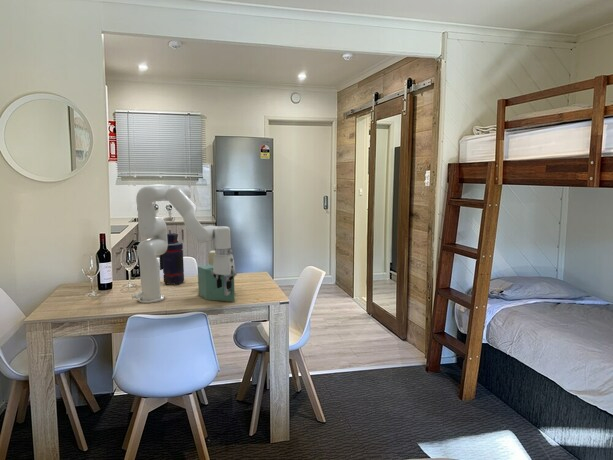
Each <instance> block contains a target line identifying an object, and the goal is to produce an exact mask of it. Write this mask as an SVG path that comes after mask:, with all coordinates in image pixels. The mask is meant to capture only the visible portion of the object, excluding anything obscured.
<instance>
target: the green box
mask: <svg viewBox="0 0 613 460" xmlns="http://www.w3.org/2000/svg"><path fill="white" fill-rule="evenodd" d="M205 271H206V297H207V299H206V300H207V301H220V302H231V303H235V302H236V296H235V294H236V293H235V291H236V290H235V277H234V278H233V280H231V281H232V287H231V288H230V289H227V281H228V280H227V277H226V275H221V280H222V287H221V288H217V280H216V278H215V277H214V276H213V275H212V274H211V271H212V270H205ZM231 275H233V274H231Z"/></svg>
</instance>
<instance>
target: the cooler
mask: <svg viewBox="0 0 613 460" xmlns="http://www.w3.org/2000/svg"><path fill="white" fill-rule="evenodd" d="M205 270H213V264H210V265H209V264H203V265H197V284H198V285H197V286H198V296H199V297H201V298H203V299H205V300H207V297H206V271H205Z"/></svg>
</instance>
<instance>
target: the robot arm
mask: <svg viewBox="0 0 613 460" xmlns="http://www.w3.org/2000/svg"><path fill="white" fill-rule="evenodd" d="M135 197H136V198H135V200H136V207H137V208H136V209H137V220H138V221H137V225H138V233H139V235H140V236H141V237H144V238H148V239H145V240H142V241H140V242H139V243H138V244H137V247H136V255H137V258H138V261H139V272H140V273H139V277H140V291H139V293H137V294H131V300H133V299H136V300H138V302H139V303H142V304H150V303H151V304H152V303H157V302H161V301H163V300H165V296H164V295H163V294H162V288H161V272H160V271H161V270H160V261H159V260H158V258H157V257H158V256H159V255H162V254H164V253H165V252H166V251H167V247H168V240H167V234H168V226H167V224H166V221H165V219H163V218H162V217H158V216H157V215H156V208H155V205H154V203H155V202H169V203H170V204H171V205H172V207H173V208H174V209H175V210H176V211H177V212H178V214H179V215H180V216H181V217H182V219H183V224H184V226H185V229H186V230H187V233H189V235H190V236H191V237H192V238H193V239H194V240H195V241H197V242H198V243H201V244H204V243H208V242H211V241H214V251H215V255H214V261H213V270H212V271H211V274H212V275H213V276H214V277H215V278H216V280H217V288H221V287H222V280H221V275H226V277H227V280H228V281H227V289H230V288H231V287H232V281H231V280H233V278H234V279H235V278H236V277H237V276H238V273H237V271H236V266H235V260H234V259H235V258H234V255H233V254H232V253H233V252H234V249H232V245H231V244H232V242H231V241H232V240H231V228H230V226H225V225H224V226H222V225H219V226H218V225H204V226H203V225H202V224H201V222H200V221H199V220H198V218H197V215H196V212H197V210H198V207H197V205H196V204H195V203H194V202H193V201H192V200H191V198H192V192H191V190H190V189H189V188H188V187H187V186H185V185H176V184H174V185H173V184H147V185H144V186H143V187H141V188H140V189H139V190H138V191H137V193H136V196H135ZM231 274H233V275H231Z"/></svg>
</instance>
